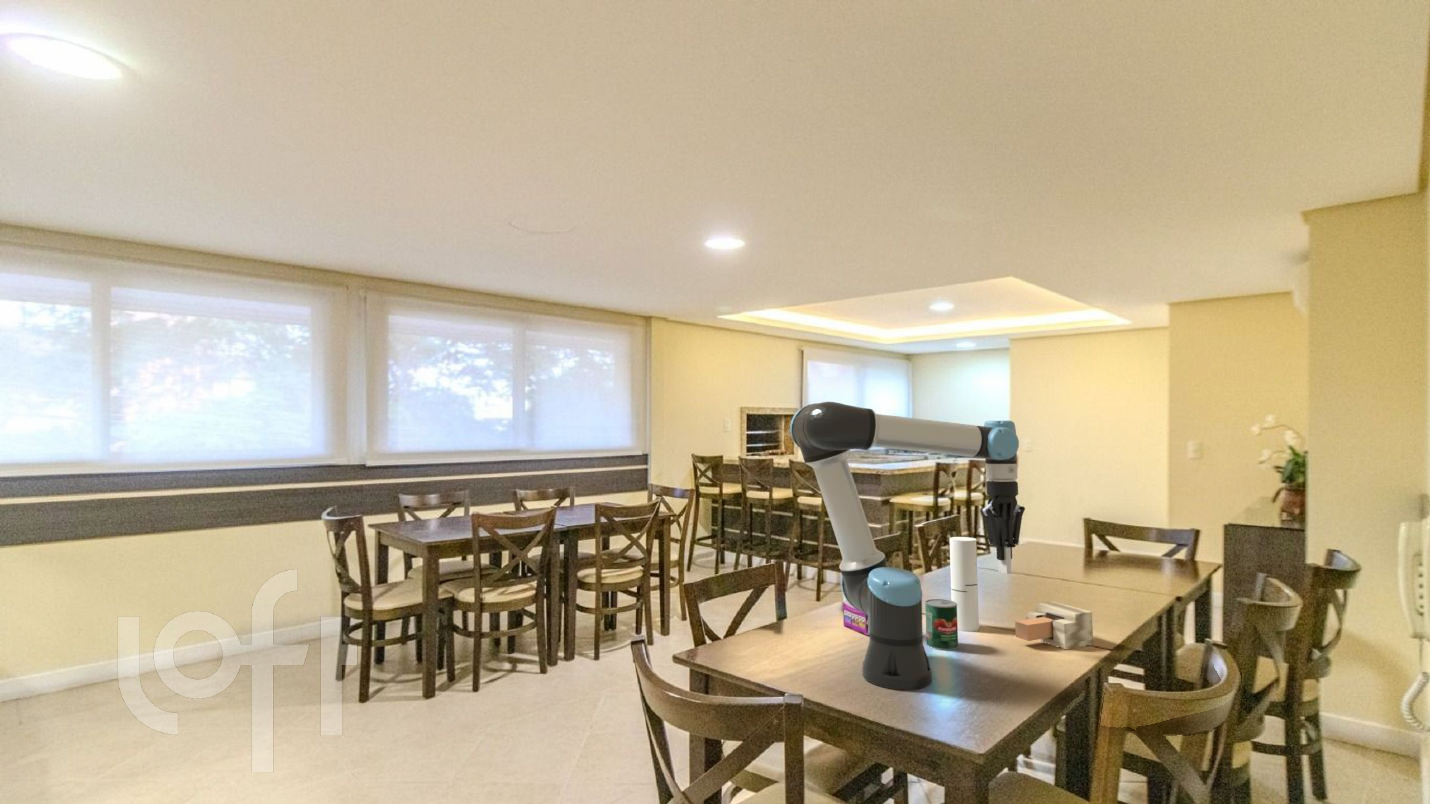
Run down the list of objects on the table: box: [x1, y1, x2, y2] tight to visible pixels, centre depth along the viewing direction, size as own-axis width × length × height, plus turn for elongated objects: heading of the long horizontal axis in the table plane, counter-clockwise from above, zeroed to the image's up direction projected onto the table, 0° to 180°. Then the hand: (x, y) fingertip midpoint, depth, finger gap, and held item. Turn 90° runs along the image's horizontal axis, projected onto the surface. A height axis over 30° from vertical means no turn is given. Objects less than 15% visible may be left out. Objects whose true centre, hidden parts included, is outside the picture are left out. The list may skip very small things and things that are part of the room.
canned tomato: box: [924, 598, 959, 651], centre depth 169 cm, size 8×8×11 cm
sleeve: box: [1025, 601, 1094, 650], centre depth 172 cm, size 10×12×8 cm
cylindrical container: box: [949, 536, 980, 632], centre depth 185 cm, size 7×7×25 cm
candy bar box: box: [842, 593, 870, 636], centre depth 184 cm, size 11×5×16 cm, turn 25°
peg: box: [1014, 617, 1053, 642], centre depth 170 cm, size 10×4×4 cm, turn 112°
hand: (1005, 572), depth 167 cm, fingers closed
